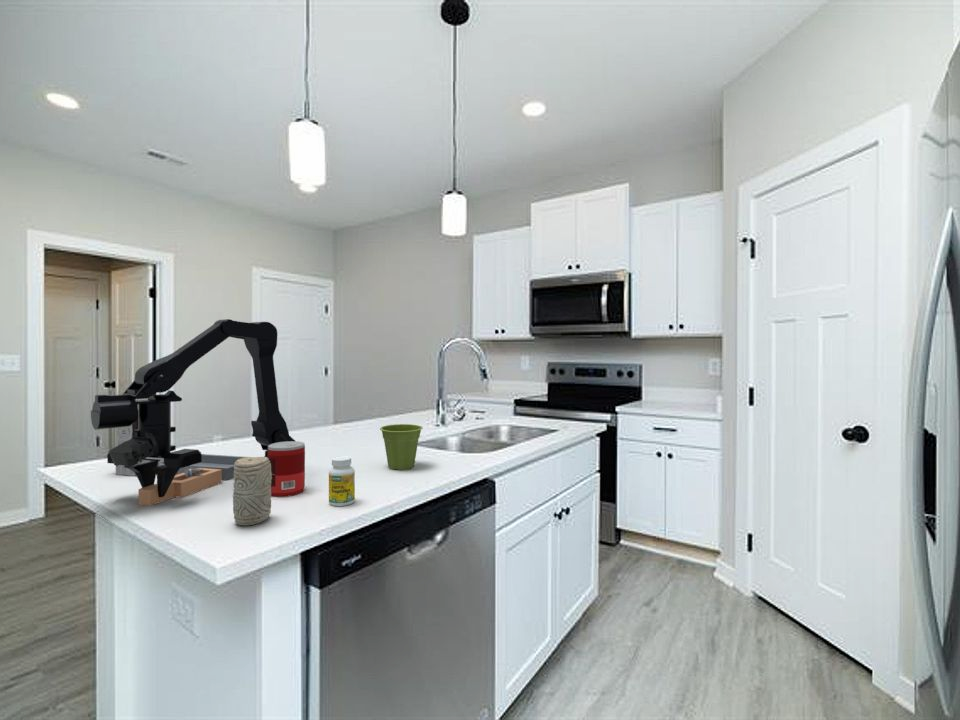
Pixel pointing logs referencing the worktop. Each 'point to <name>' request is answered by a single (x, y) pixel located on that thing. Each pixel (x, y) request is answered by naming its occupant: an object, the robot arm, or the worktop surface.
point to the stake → (192, 472)
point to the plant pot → (401, 444)
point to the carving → (252, 490)
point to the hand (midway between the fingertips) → (155, 496)
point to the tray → (216, 464)
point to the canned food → (287, 468)
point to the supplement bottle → (341, 482)
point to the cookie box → (122, 436)
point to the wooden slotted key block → (181, 486)
